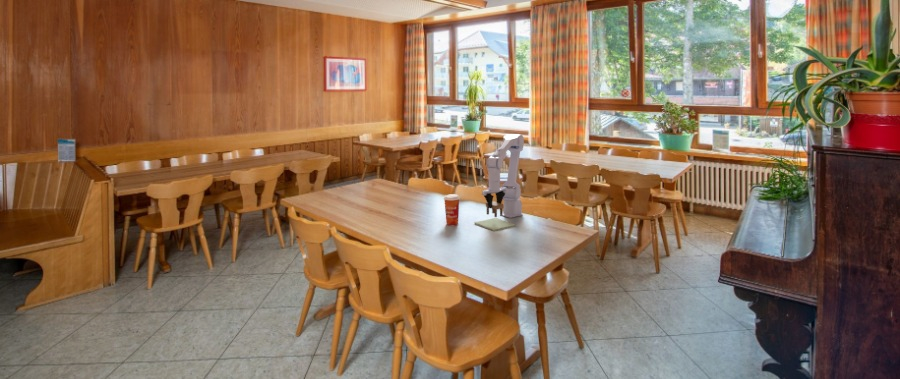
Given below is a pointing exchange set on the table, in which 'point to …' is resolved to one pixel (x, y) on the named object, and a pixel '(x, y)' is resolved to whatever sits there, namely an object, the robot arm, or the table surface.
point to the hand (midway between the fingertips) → (494, 207)
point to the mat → (494, 224)
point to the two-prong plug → (495, 208)
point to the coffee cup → (452, 209)
